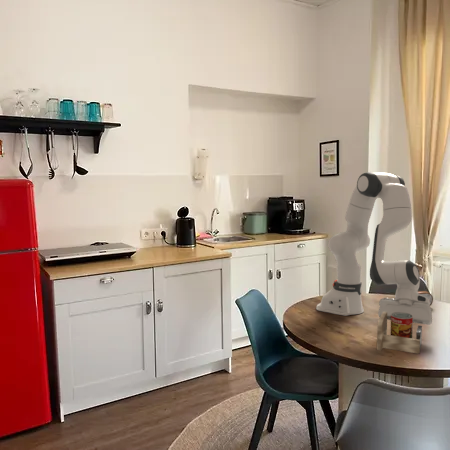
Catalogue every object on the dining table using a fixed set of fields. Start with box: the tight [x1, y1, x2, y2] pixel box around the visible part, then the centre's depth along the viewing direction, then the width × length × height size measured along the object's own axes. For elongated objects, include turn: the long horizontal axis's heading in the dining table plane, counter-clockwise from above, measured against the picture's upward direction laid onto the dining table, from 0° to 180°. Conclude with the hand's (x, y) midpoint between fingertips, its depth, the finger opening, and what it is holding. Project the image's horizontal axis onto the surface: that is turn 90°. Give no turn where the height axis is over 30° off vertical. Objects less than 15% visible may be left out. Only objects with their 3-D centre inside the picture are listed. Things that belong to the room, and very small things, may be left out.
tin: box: [418, 290, 434, 307], centre depth 216 cm, size 15×3×8 cm, turn 100°
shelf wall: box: [376, 311, 421, 354], centre depth 168 cm, size 14×14×11 cm
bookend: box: [415, 325, 423, 349], centre depth 168 cm, size 1×8×7 cm, turn 152°
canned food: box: [390, 312, 414, 339], centre depth 169 cm, size 8×8×12 cm
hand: (403, 330), depth 174 cm, fingers closed, pressing on canned food
